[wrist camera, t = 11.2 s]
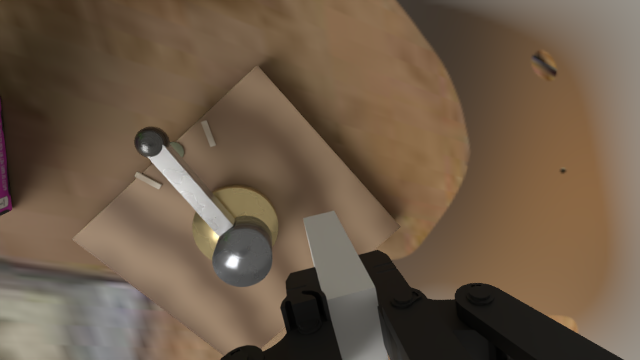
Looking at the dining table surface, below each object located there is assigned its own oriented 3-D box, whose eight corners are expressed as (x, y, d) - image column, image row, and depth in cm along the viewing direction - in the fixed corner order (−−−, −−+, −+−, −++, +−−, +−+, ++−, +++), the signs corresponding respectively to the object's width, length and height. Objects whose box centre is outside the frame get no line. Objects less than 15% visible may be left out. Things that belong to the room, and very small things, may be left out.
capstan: (293, 229, 35) (298, 254, 30) (230, 274, 36) (223, 307, 30) (189, 99, 31) (172, 101, 25) (117, 152, 31) (86, 165, 26)
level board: (240, 354, 41) (238, 368, 39) (79, 228, 35) (67, 237, 32) (394, 220, 39) (401, 227, 37) (255, 63, 33) (254, 61, 31)
